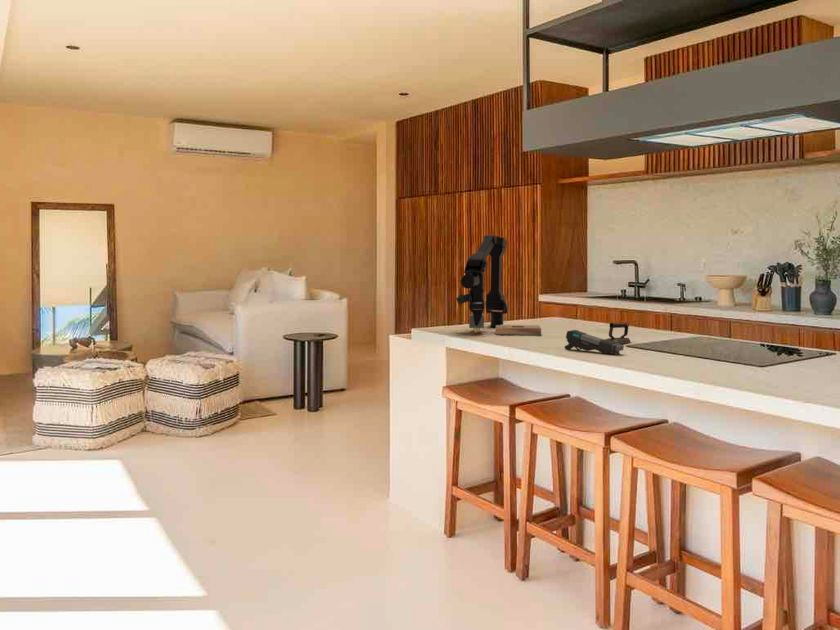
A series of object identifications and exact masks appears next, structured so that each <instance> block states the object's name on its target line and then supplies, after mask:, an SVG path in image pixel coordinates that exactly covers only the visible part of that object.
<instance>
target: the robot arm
mask: <svg viewBox="0 0 840 630" xmlns="http://www.w3.org/2000/svg"><path fill="white" fill-rule="evenodd" d="M507 246H508V241H507V239H506V238H505V237H504V236H503V237H501V236H497V235H495V234H486V235H484V236H483V240H482V242H481V244H480V245H479V247H478V249H477V250H476V252H475V253H472V254H471V255H470V256H469V257H468V259H467V261H466V264H465V267H464V271H463V273H464V275H462V277H461V279H460V284H461V286H462V287H463V288H464V289H468V293H464V294H463V293H461V294H458V296H456V301H457V304H458V306H460V305H462V304H464V303H468V302H469V304H468V309H469V311H470V312H471V313H472V314H473V316H474V321H475V325H478V324H479V321H480V319H481V316H482V314H483V313H484V311H486V314H490V324H489V328H496V325H504V314H509V313H508V312H509V307H508V305H507V301H506V298H505V294H504V292H503V291H502V275H503V274H502V271H503V270H502V268H503V267H502V266H503V257H504V255H505V254H506V251H507ZM489 256H490V259H491V260H490V290H489V292H488V293H486V297H484V296H485V295H484V292H485V291H484V289H485V286H484V284H485V282H484V281H485V279H484V278H485V272H486V270H487V267H488V261H487V259H488V257H489ZM485 298H486V300H484V299H485ZM483 315H484V314H483Z"/></svg>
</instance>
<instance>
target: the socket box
mask: <svg viewBox="0 0 840 630" xmlns="http://www.w3.org/2000/svg"><path fill="white" fill-rule="evenodd" d="M496 335H501V336H509V337H510V336H511V337H512V336H514V337H517V336H518V337H519V336H520V337H521V336H522V337H542V327H541V326H540V325H536V324H533V325H532V324H531V325H530V324H529V325H527V324H526V325H525V324H524V325H523V324H521V325H520V324H517V325H516V324H514V325H513V324H511V325H510V324H503V325H496V327H495V336H496ZM501 336H500V337H501Z"/></svg>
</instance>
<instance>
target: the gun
mask: <svg viewBox="0 0 840 630" xmlns="http://www.w3.org/2000/svg"><path fill="white" fill-rule="evenodd" d="M565 339H566V342H567V344H566V345H565V346H564V350H565V351H569V350H572V349H573V348H575V350H577V351H580V350H583V351H586V352H589V351H594V350H595V351H598V352H600V353H603V354H605V355H608V354H611V355H614V356H618V355H620V352H621V351H623V350H624V347H625V345H620V344H617V343H616V342H613V341H610V340H606V339H607V338H600V337H597V336H595V335H591V334H588V333H587V332H583V331H580V330H577V329H571V330H566V335H565Z"/></svg>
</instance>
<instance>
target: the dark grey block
mask: <svg viewBox="0 0 840 630" xmlns="http://www.w3.org/2000/svg"><path fill="white" fill-rule="evenodd" d="M468 317H469V319H468V320H469V321H468V328H469V329H472V331H473V332H474V333H478V332H479V333H480V332H481V330H480V329H484V328H485V314H482V316H481V319H480V321H479V324H478V325H475V321H474V316H473V313H472V314H469V316H468Z"/></svg>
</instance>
